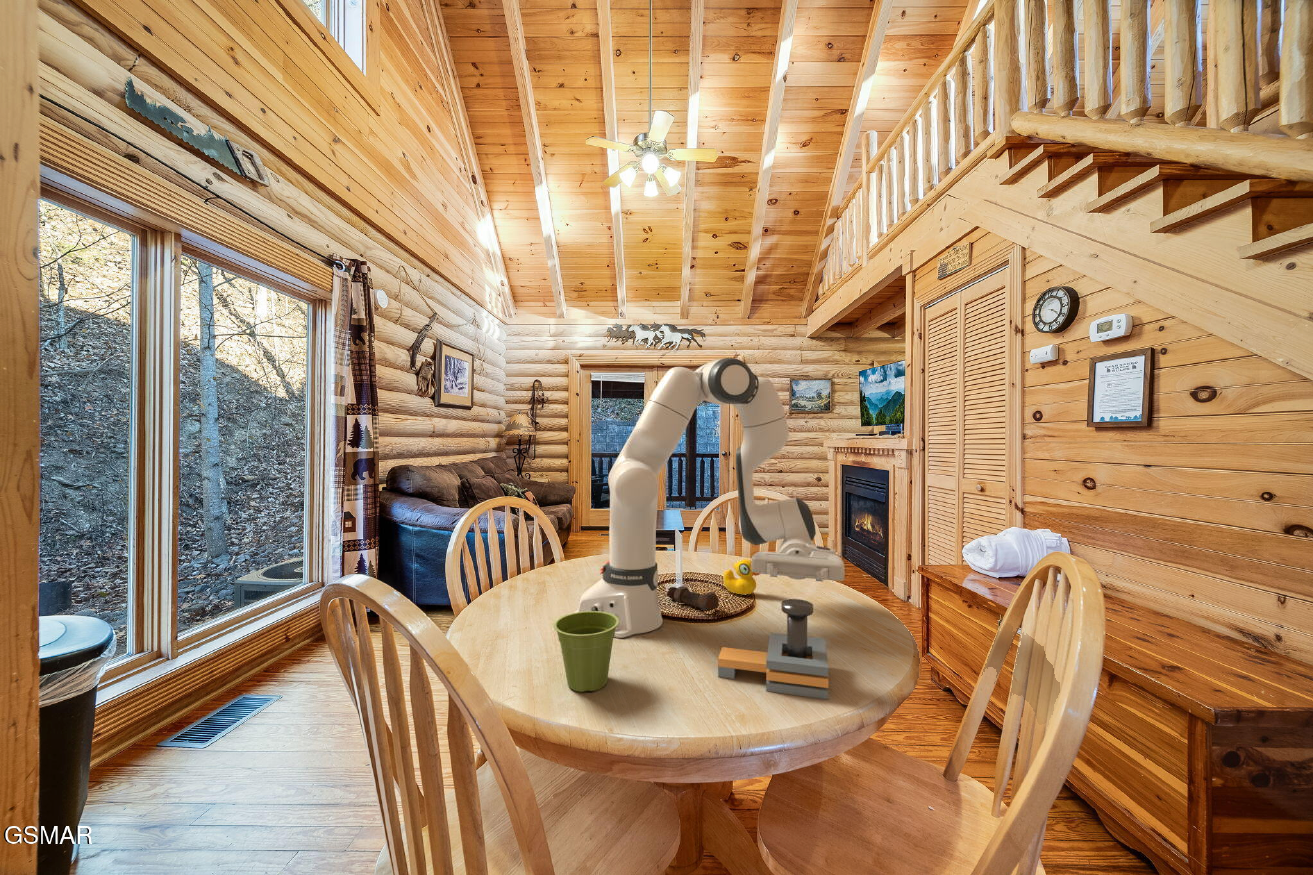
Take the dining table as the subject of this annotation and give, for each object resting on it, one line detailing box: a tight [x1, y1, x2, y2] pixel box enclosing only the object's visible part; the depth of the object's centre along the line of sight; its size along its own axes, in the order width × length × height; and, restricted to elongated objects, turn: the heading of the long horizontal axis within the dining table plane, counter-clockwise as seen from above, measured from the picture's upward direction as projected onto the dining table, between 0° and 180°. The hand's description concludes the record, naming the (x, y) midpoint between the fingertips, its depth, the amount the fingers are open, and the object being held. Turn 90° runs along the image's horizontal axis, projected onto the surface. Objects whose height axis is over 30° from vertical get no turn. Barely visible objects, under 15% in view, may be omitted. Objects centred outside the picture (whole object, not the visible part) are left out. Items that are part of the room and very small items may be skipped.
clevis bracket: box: [717, 632, 829, 701], centre depth 94 cm, size 19×12×6 cm, turn 74°
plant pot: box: [553, 611, 619, 693], centre depth 92 cm, size 12×12×11 cm
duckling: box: [722, 558, 761, 595], centre depth 139 cm, size 11×5×10 cm, turn 61°
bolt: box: [666, 585, 719, 612], centre depth 131 cm, size 6×5×15 cm
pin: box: [780, 598, 814, 659], centre depth 92 cm, size 6×6×14 cm
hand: (796, 575), depth 107 cm, fingers open, 8 cm apart
